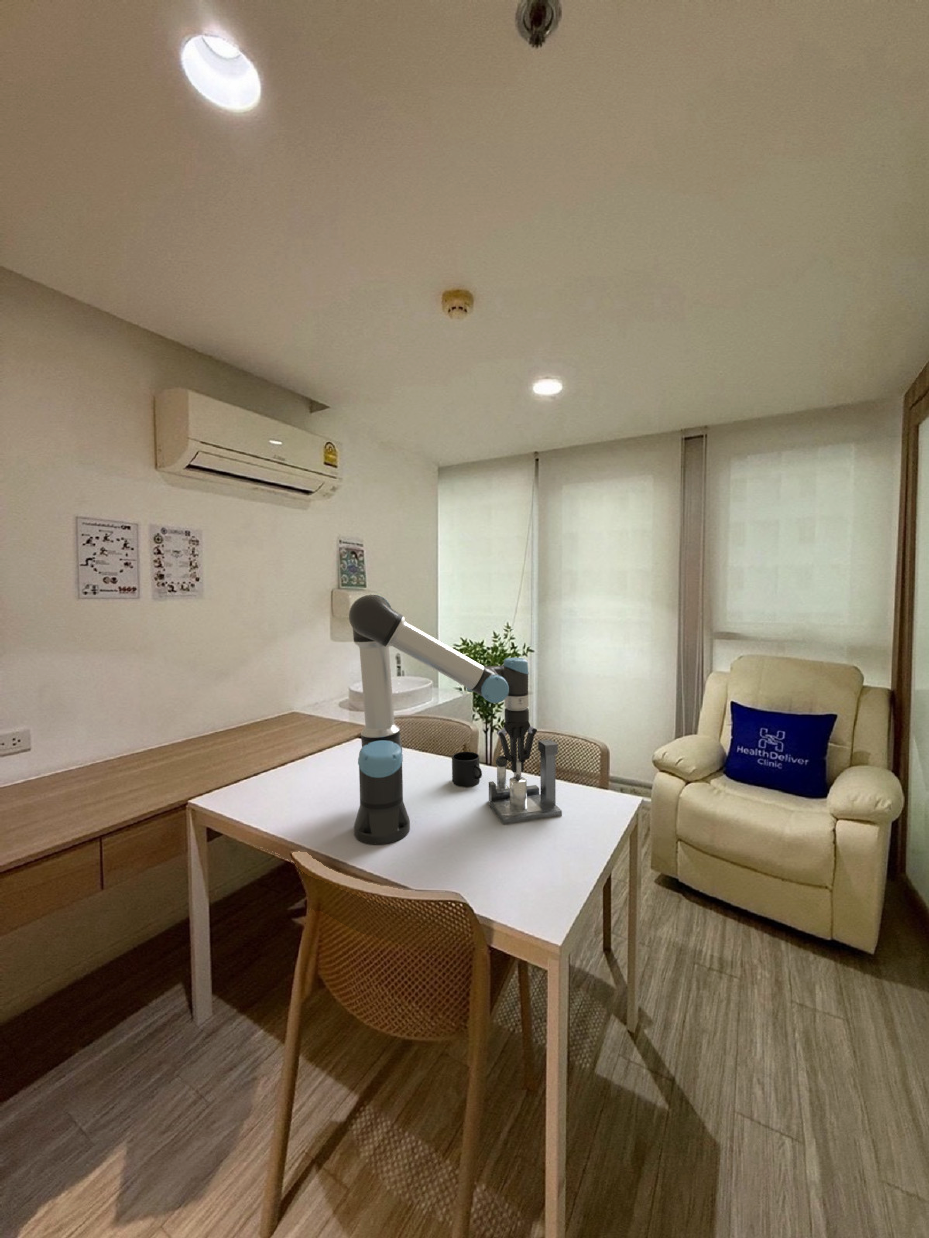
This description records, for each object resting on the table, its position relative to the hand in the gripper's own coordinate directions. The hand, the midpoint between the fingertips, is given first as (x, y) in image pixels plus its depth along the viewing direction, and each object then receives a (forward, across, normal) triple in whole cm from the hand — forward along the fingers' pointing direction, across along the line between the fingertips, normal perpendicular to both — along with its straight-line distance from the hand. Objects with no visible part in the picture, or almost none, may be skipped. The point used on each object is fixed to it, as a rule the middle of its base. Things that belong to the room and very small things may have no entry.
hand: (517, 781), depth 151 cm
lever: (+2, -5, 0) cm, 6 cm away
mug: (+6, -11, +16) cm, 21 cm away
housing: (+4, -4, -9) cm, 10 cm away
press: (+5, -1, -8) cm, 9 cm away
